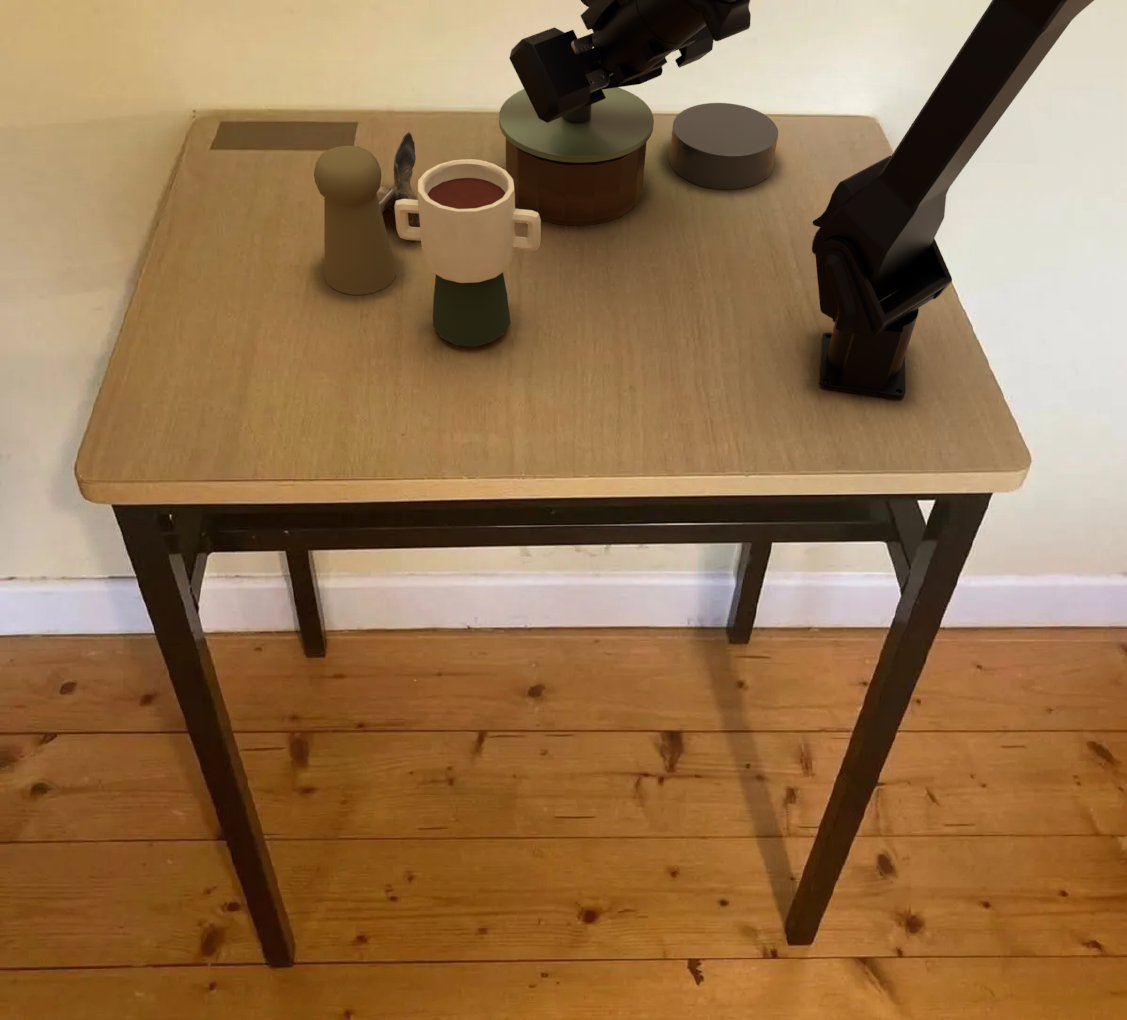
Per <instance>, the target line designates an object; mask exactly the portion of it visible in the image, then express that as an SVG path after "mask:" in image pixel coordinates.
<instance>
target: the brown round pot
mask: <svg viewBox="0 0 1127 1020" xmlns="http://www.w3.org/2000/svg"><path fill="white" fill-rule="evenodd" d="M504 139H505V141H504V142H505V143H504V144H505V170H506V171H507V173H508V174H509V175H510V176H511V177H512V179H513V183H514V191H515V208H517V209H523V210H533V211H535V212H538V214H539V216H540V219H541V221H543V222H547V223H550V224H556V225H563V226H591V225H597V224H602V223H606V222H607V223H608V222H610V221H613V220H615V219H619V218H621V217H622V216H624V215H625V214H627V213H629V212H630V211H632V209H633V208H634V207H635V206H636V205H637V203H638V202H639V200H640V198H641V194H642V191H643V187H644V176H645V175H644V174H645V165H646V153H647V142H646V143H645V144H644V145H642V146H641V147H640V148H638V149H637V150H635V151H633V152H631V153H629V154H626V155H624V156H621V157H618V158H614V159H610V160H605V161H598V162H585V163H576V162H561V161H555V160H549V159H545V158H541V157H538V156H535V155H532V154H530V153H527V152H525V151H523V150H521V149H519V148H517V147H516V146H514V145H513V144H512V143H510V142H509V141H508V140H507V139H506V138H505V137H504Z"/></svg>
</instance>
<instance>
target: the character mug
mask: <svg viewBox="0 0 1127 1020" xmlns="http://www.w3.org/2000/svg"><path fill="white" fill-rule="evenodd" d="M417 199H418V200H412V199H401V200H397V201H396V202H395V206H394V208H395V212H394V215H395V218H394V219H395V228H396V232H397V234H398V237H399V238H401V239H404V240H407V241H410V240H414V241H419V242H420V243H421V244H420V245H421V254H422V258H423V259H424V262H425V264H426V265H427V266H428V268H429V270H430V271H431V272H432V273H433V274H434V275H435V278H434V279H435V280H434V289H433V291H434V292H433V297H432V298H433V302H432V327H433V328H434V329H435V331H436V332H437V334H438V335H439V336H440V338H442V339H443V340H446V341H447V342H449V343H451V344H453V345H455V346H463V347H472V348H473V347H478V346H482V345H486V344H489V343H492V342H494V341H495V340H496V339H498V338H499V337H501V336H503V335H504V334H505V333H506V331H507V329H509V327H510V325H511V323H512V321H511V315H510V306H509V298H508V291H507V287H506V281H505V276H504V275H505V274H504V272H505V271H507V270H508V267H509V266H510V263H511V262H512V260H513V257H514V256H515V254H516V250H517V251H528V252H533V251H536V250H539V248H540V246H541V229H542V227H541V225H542V223H541V222H542V220H541V219H540V216H539V214H538V212H535V211H533V210H523V209H519V208H516V206H515V191H514V183H513V179H512V177H511V176H510V175H509V174H508V173H507V171H506V169H505V168H502V167H500V166H499V165H496V163H493V162H489V161H485V160H481V159H474V158H473V159H471V158H468V159H467V158H463V159H454V160H453V159H452V160H449V161H446V162H441V163H439V164H438V163H437V164H436V165H434V166H433V167H431V168H429V169H428V170H426V171H425V172H424V173H423V174H422V175H421V177H420V178H419V179H418V180H417ZM408 213H418V214H419V218H420V227H410V225H409V222H408ZM517 223H518V224H527V236H518V235H516V224H517Z"/></svg>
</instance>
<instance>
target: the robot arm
mask: <svg viewBox="0 0 1127 1020" xmlns="http://www.w3.org/2000/svg"><path fill="white" fill-rule="evenodd" d="M1094 1H1095V0H991V1H990V3H989V5H988V6H987V7H986V10H985V11H984V12H983V14H982V16H981V17H980V18H979V20H978V21H977V23H976V25H975V26H974V28H973V29H972V31H971V32H970V34H969V35H968V37H967V38H966V40H965V42H964V43H963V45H962V46H961V48H960V49H959V51H958V53H957V54H956V56H955V57H954V59H953V60H952V62H951V63H950V65H949V66H948V68H947V69H946V71H945V72H944V74H943V76H941V79H940V80H939V82H938V83H937V84H936V86H935V88H934V90H933V91H932V92H931V93H930V96H929V97H928V99H927V100H926V102H925V104H924V105H923V107H922V108H921V110H920V112H918V114H917V116H916V117H915V119H914V120H913V122H912V124H911V125H910V126H909V128H908V130H907V131H906V132H905V134H904V136H903V137H902V139H901V140H900V142H899V143H898V145H897V146H896V148H895V150H894V151H893V153H892V154H891V155H888V156H887V157H885V158H883V159H881V160H879V161H877V162H874V163H873V164H870V165H869V166H868V167H866V168H864V169H862V170H860V171H858V172H856V173H854V174H852V175H851V176H848V177H847V178H845V179H843V180H841V181H840V182H838V183H837V186H836V187H835V189H834V190H833V192H832V193H831V195H830V199H829V201H828V204H827V207H826V208H825V210H824V212H823V213H822V214H821V215H820V216H819V217H817V218H815V219H814V220H813V221H812V225H813V226H814V227H817V228H818V229H817V231H816V232H815V234H814V236H813V239H812V244H811V251H812V254H813V255H814V256H815V265H816V277H817V287H818V288H817V289H818V299H819V310H820V312H821V313H822V314H824V315H825V316H826V317H829V318H830V319H831V320H832V322H833V323H834V325H833V329H832V332H824V333H822V337H821V340H820V341H821V345H820V357H819V358H820V359H819V371H818V386H819V387H821V388H823V389H826V390H827V389H828V390H834V391H841V392H848V393H854V394H861V395H866V396H874V397H880V398H888V399H892V400H893V399H894V400H902V399H904V398H905V395H906V353H907V350H908V347H909V344H910V341H911V338H912V335H913V331H914V329H915V325H916V322H917V319H918V316H919V311H920V309H919V308H921V307H922V306H924V305H926V304H928V303H929V302H930V301H932V300H936V299H937V298H938V297H940V296H941V295H942V294H943V293H944V292H945V291H946V289H947V288H948V287H949V286H950V284H952V282H953V278H952V275H951V273H950V270H949V268H948V266H947V264H946V261H945V259H944V257H943V255H942V252H941V250H940V248H939V246H938V244H937V241H936V235H937V233H938V231H939V229H940V227H941V225H942V223H943V221H944V219H945V213H946V202H947V194H948V191H949V189H950V187H951V186H952V185H953V183H954V182H955V181H956V179H957V178H958V177H959V175H960V174H961V172H962V171H963V170H964V169H965V167H966V166H967V164H968V163H969V161H970V160H971V159H972V157H973V156H975V154H976V152H977V151H978V149H979V148H980V146H981V145H982V144H983V142H984V141H985V140H986V138H987V137H988V136H989V134H990V133H991V132H992V131H993V129H994V128H995V126H996V124H997V123H998V122H999V121H1000V119H1001V118H1002V116H1003V115H1004V114H1005V112H1006V111H1007V110H1008V108H1009V107H1010V106H1011V104H1012V103H1013V102H1014V100H1016V97H1017V96H1018V95H1019V93H1020V92H1021V91H1022V89H1023V88H1024V86H1025V85H1026V84H1027V82H1028V81H1029V79H1030V78H1031V77H1032V76H1033V74H1034V73H1035V71H1036V70H1037V69H1038V67H1039V66H1040V64H1041V63H1042V62H1043V60H1044V59H1045V58H1046V56H1047V55H1048V54H1049V52H1050V51H1051V50H1052V48H1053V46H1055V44H1056V43H1057V41H1058V40H1059V39H1060V37H1061V36H1062V35H1063V33H1064V32H1065V30H1066V29H1067V28H1068V26H1070V23H1071V22H1072V21H1073V20H1074V19H1075V18H1076V17H1077V16H1078V15H1079V14H1080V13H1081V12H1083V11H1084V10H1085V9H1086V8H1087V7H1088V6H1089V5H1091V4H1092V3H1094ZM580 2H581V3H582V4H583V5H584V6H585V7H587V8H586V9H585V10H584V11H583V12H582V14H580V18H581V20H582V22H583V24H584V27H585V29H586V30H587V31H589V30H592V33H589V34H586V35H584V36H581V37H577V34H576V32H575V30H574V29H571V30H568V31H565V32H564V31H563V30H560V29H559V28H557V27H555V26H554V27H551V28H549V29H546V30H543V31H540V32H538V33H534V34H532V35H529V36H526V37H524V38H522V39H521V40H520V41H519V42H517V44H515V45H514V47H512V48H511V50H510V54H509V61H510V62H511V65H512V67H513V69H514V71H515V73H516V76H517V77H518V79H519V81H520V83H521V85H522V88H523V89H525V91H526V93H527V95H528V97H529V99H530V101H531V104H532V106H533V108H534V110H535V112H536V114H537V116H538V118H539V119H541V120H543V121H545V122H547V123H548V122H551V121H553V120H555V119H558V118H560V117H563V116H565V115H567V114H570V113H572V112H574V111H575V110H577V109H579V108H584V107H587V106H589V105H591V104H594V103H596V102H599V101H601V100H603V99H605V98H606V97H605V95H604V93H603V91H602V90H603V89H610V88H617V87H619V88H623V87H630V86H637V85H641V84H642V85H643V84H644V83H646V82H649V81H651V80H653V79H656V78H658V77H660V76H661V75H662V74H663V66H665V64H667V63H668V60H667V58H666V57H667V56H669V55H670V54H672V53H674V52H677V51H679V53H680V55H679V56H678V57H677V58H676V59H675V60H674V61H675V63H676V65H677V67H678V68H679V69H680V68H683V67H684V66H687V65H689V64H692V63H694V62H697V61H699V60H701V59H702V58H704V57H705V56H706V55H707V54H710V52H711V51H713V48H714V47H713V46H714V42H720V41H722V40H725V39H727V38H730V37H732V36H734V35H737V34H739V33H742V32H744V31H747V30H749V29H750V27H751V18H752V17H751V16H752V15H751V11H750V3H751V0H580Z"/></svg>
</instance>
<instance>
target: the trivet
mask: <svg viewBox="0 0 1127 1020" xmlns="http://www.w3.org/2000/svg"><path fill="white" fill-rule="evenodd" d="M670 137H671V140H670V149H669V164H670V166H671V168H672V170H673V171H674V172H675V173H676V174H677V175H678V176H680V177H681V178H683V179H684V180H686V181H687V182H689V183H692V184H695V185H697V186H701V187H705V188H710V189H715V190H741V189H745V188H750V187H754V186H757V185H759V184H760V183H762V182H764V181H765V180H766V179H767V178H768V177H769V176H770V175H771V174H772V171H773V167H774V162H775V156H776V150H777V145H778V140H779V129H778V126H777V125H776V123H775V122H774V121H773V120H772V119H771V118H770V117H768V115H766V114H764V113H763V112H761V111H760V110H757V109H755V108H751V107H749V106H745V105H741V104H737V103H728V102H708V103H707V102H706V103H702V104H696V105H693V106H690V107H688V108H685V109H684V110H682V111H681V112H679V113H678V114H677V115H676V116H675V118H674V119H673V121H672V129H671V136H670Z"/></svg>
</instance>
